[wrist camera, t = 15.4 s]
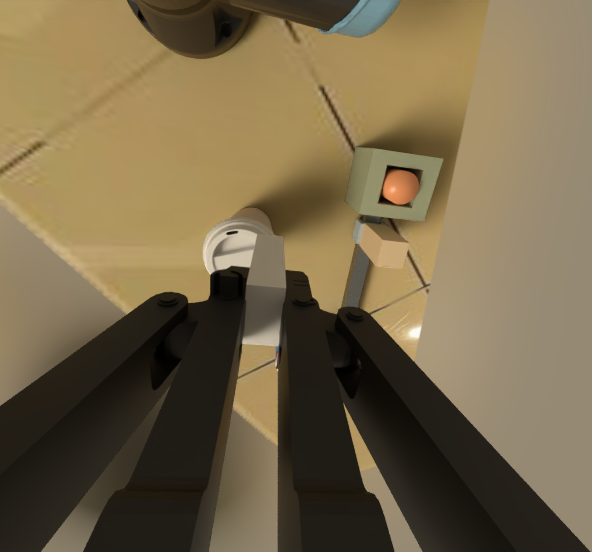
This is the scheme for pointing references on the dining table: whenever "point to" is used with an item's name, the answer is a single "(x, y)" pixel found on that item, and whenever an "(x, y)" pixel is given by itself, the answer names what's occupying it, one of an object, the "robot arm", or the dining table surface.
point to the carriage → (381, 244)
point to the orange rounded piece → (399, 186)
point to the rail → (357, 271)
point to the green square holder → (371, 175)
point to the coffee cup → (235, 239)
